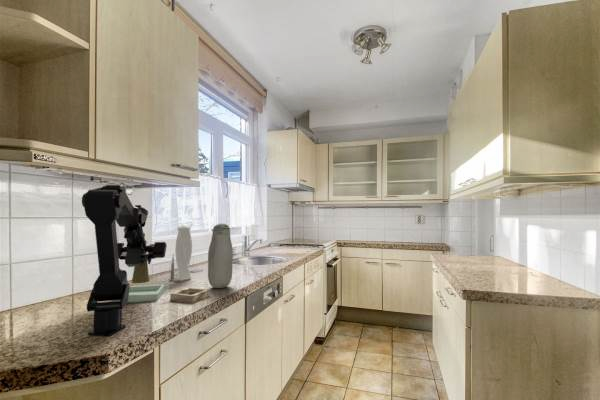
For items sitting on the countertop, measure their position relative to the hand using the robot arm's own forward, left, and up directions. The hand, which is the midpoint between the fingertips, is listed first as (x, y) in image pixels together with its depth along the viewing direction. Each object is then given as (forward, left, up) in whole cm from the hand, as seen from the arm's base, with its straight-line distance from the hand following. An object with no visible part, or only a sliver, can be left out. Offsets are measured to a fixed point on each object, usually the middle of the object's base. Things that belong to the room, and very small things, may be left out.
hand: (142, 263), depth 116 cm
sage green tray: (-1, 0, -12) cm, 12 cm away
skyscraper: (+29, -1, -13) cm, 32 cm away
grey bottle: (+17, -25, -13) cm, 33 cm away
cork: (-1, -1, -7) cm, 7 cm away
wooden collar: (0, -20, -12) cm, 24 cm away
